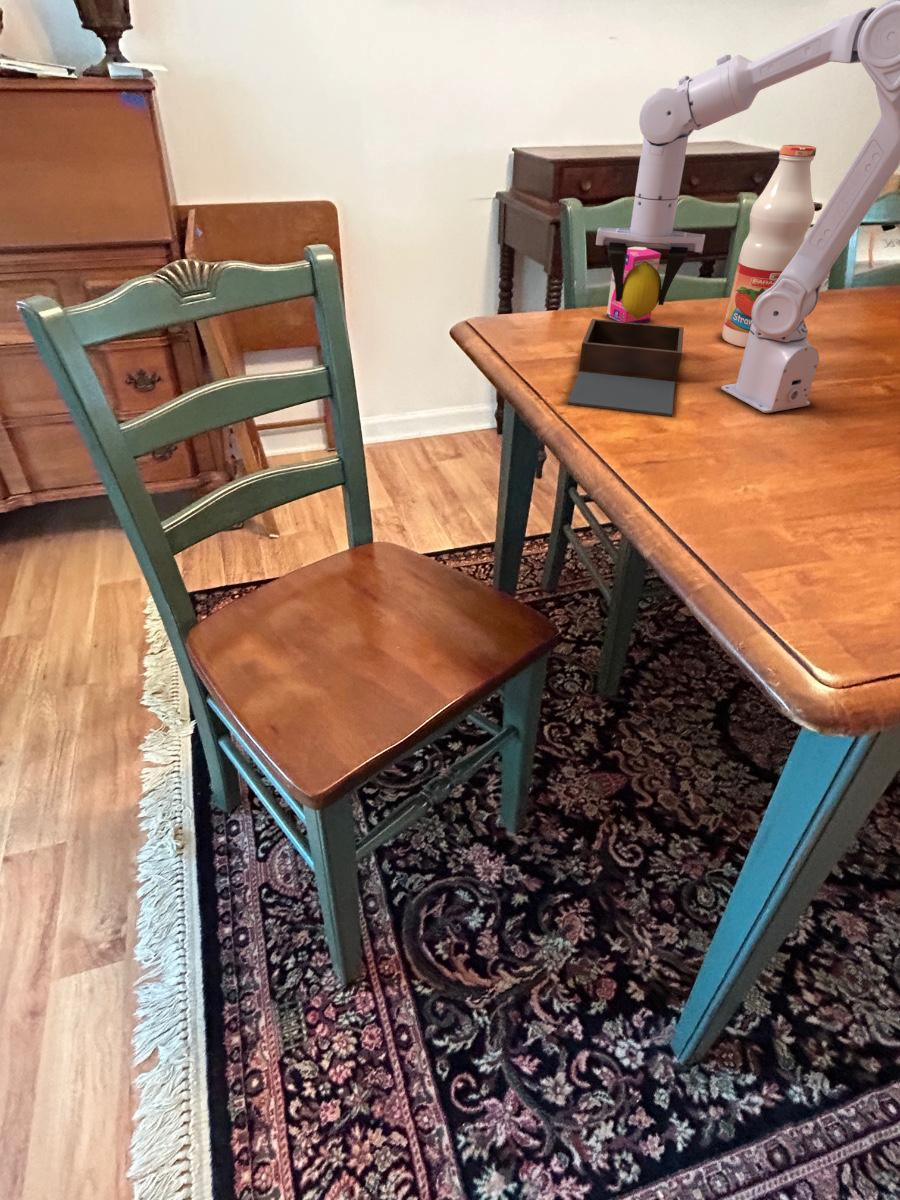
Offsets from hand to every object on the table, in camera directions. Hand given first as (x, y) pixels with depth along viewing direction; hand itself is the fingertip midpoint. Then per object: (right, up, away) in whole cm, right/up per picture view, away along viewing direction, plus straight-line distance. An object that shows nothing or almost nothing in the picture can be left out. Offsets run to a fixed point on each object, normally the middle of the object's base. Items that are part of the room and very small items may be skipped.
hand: (639, 301), depth 108 cm
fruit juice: (+23, 0, +17) cm, 28 cm away
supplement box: (+4, +7, +25) cm, 26 cm away
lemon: (0, -2, +2) cm, 3 cm away
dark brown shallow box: (0, -7, +7) cm, 10 cm away
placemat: (-3, -14, -3) cm, 15 cm away
